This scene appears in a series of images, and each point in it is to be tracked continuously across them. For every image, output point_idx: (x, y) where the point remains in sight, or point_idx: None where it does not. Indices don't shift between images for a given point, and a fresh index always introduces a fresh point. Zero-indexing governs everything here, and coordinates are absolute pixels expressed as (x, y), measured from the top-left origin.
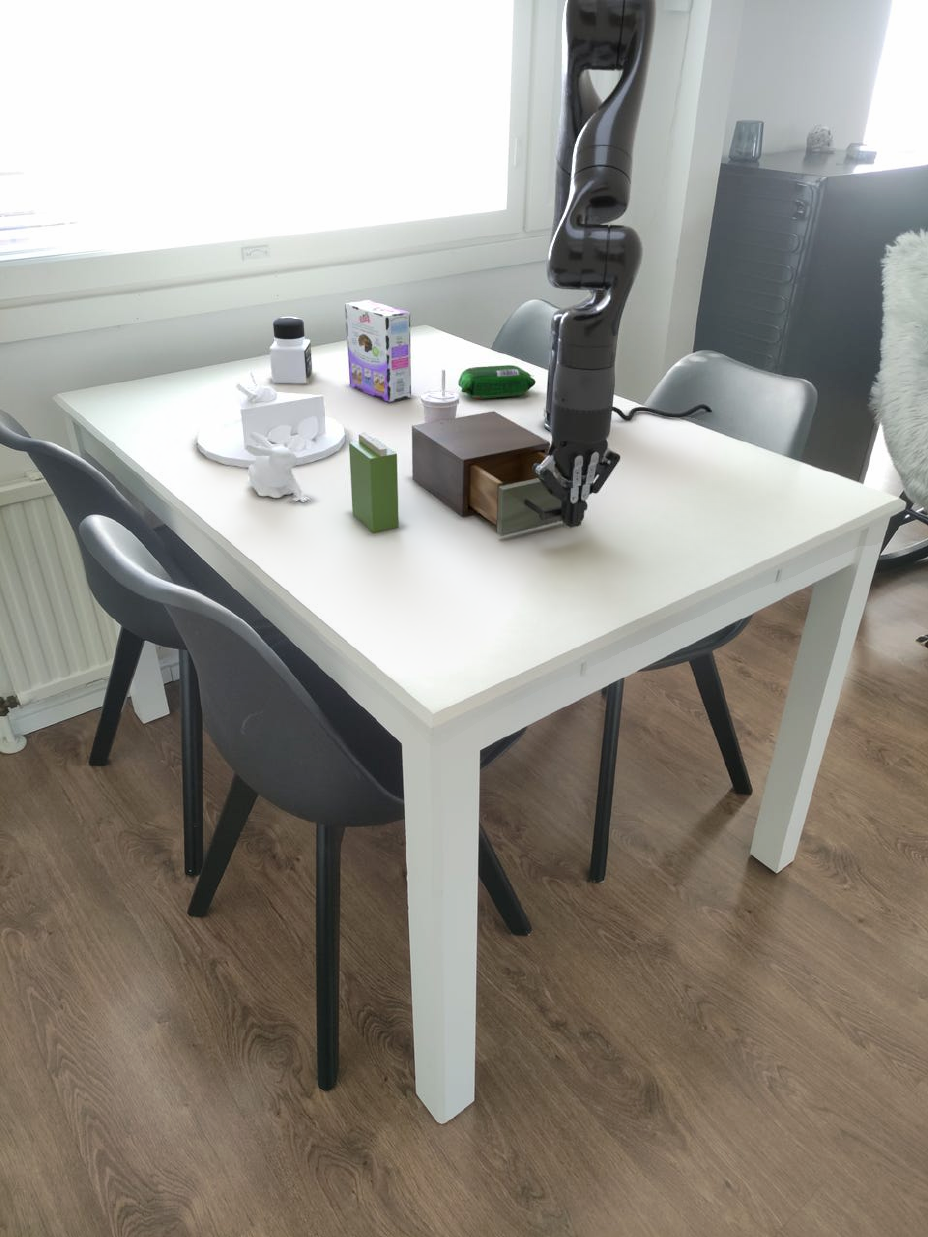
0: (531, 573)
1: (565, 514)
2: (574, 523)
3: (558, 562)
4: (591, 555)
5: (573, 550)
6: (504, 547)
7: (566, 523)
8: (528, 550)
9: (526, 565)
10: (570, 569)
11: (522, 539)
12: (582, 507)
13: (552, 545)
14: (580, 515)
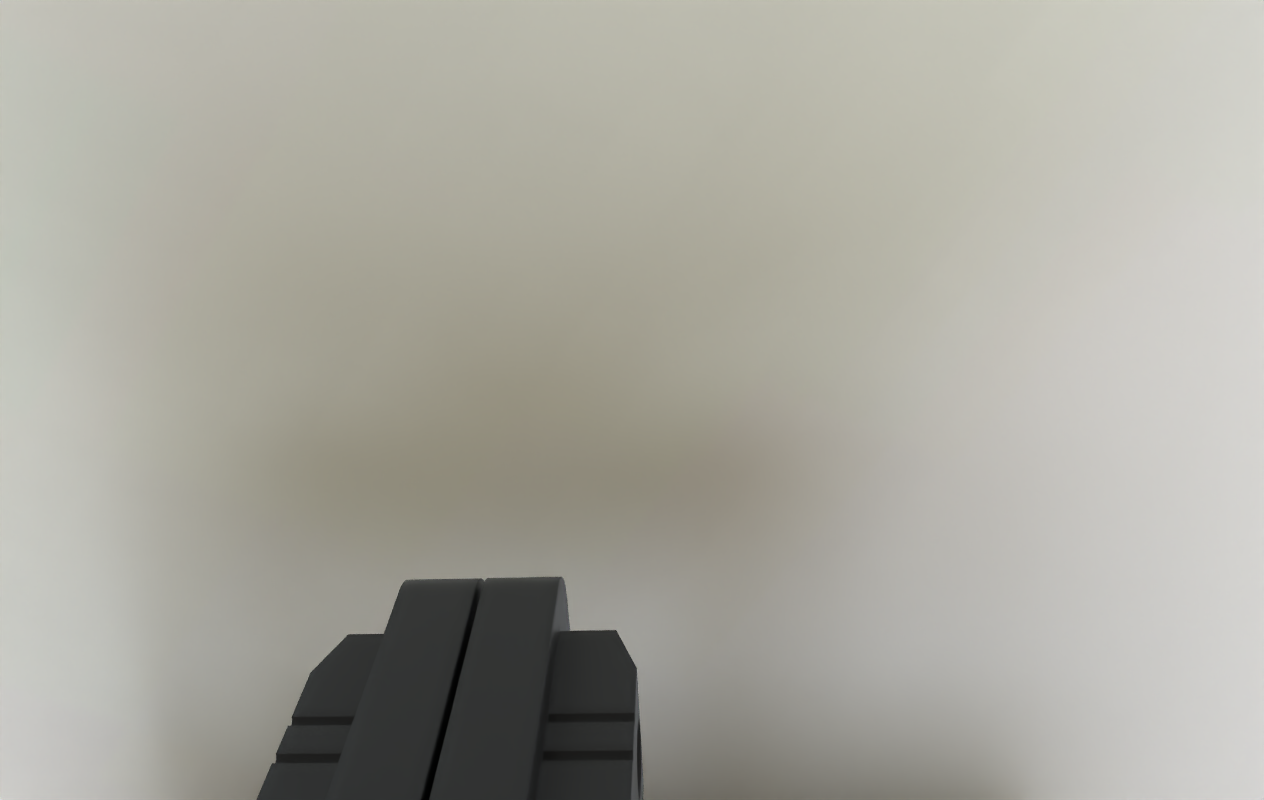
0: (1240, 207)
1: (634, 777)
2: (519, 605)
3: (802, 288)
4: (371, 263)
5: (498, 433)
6: (1065, 732)
7: (621, 654)
8: (910, 608)
9: (1149, 379)
10: (784, 87)
11: (821, 777)
12: (328, 793)
13: (637, 594)
14: (392, 684)
